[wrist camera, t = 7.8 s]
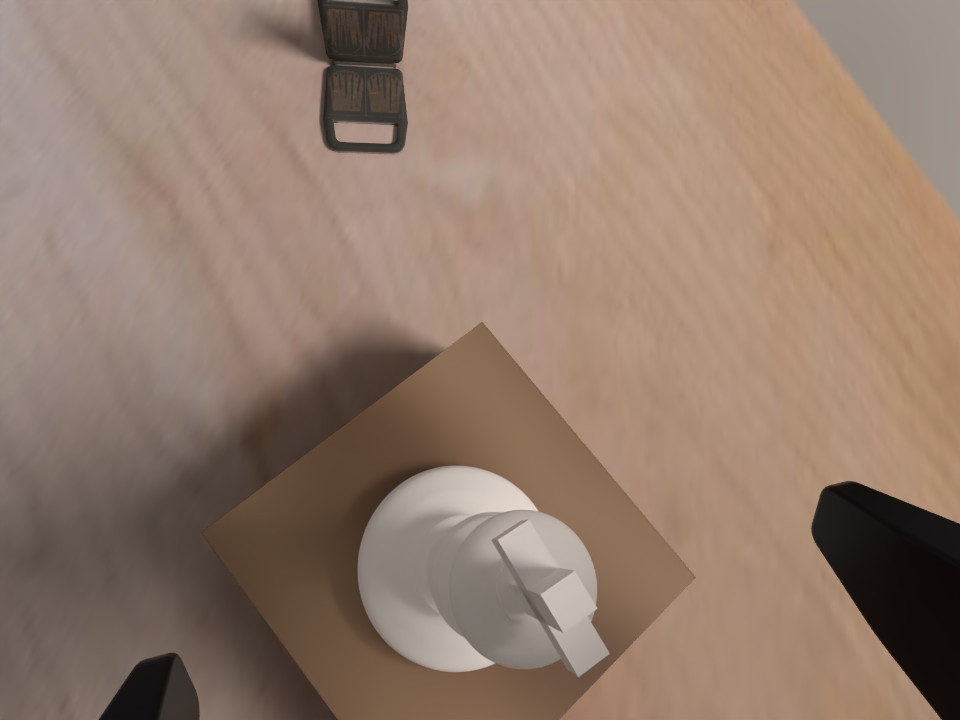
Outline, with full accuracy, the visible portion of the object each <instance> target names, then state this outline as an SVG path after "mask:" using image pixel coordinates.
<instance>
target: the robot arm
mask: <svg viewBox="0 0 960 720" xmlns="http://www.w3.org/2000/svg"><path fill="white" fill-rule="evenodd" d="M811 529H812V535H813V538H814V541H815V543H816V545H817V546H818V548H819V549H820V551H821V552H822V554H823V555H824V557H825V558H826V560H827V561H828V563H829V565H830V566H831V568H832V569H833V571H834V572H835V574H836V575H837V577H838V578H839V580H840V581H841V583H842V584H843V586H844V588H845V589H846V591H847V592H848V594H849V595H850V597H851V598H852V600H853V601H854V603H855V604H856V606H857V608H858V609H859V611H860V612H861V614H862V615H863V617H864V618H865V620H866V621H867V623H868V624H869V626H870V627H871V629H872V630H873V631H874V633H875V634H876V636H877V637H878V638H879V640H880V641H881V642H882V644H883V645H884V646H885V648H886V649H887V650H888V652H889V653H890V654H891V656H892V657H893V658H894V659H895V661H896V662H897V663H898V665H899V666H900V667H901V668H902V670H903V671H904V672H905V673H906V675H907V676H908V677H909V679H910V680H911V681H912V682H913V684H914V685H915V686H916V688H917V689H918V690H919V691H920V693H921V694H922V695H923V696H924V698H925V699H926V700H927V702H928V703H929V704H930V705H931V707H932V708H933V709H934V710H935V712H936V713H937V714H938V716H939V717H940V718H941V719H942V720H960V524H959V523H956V522H954V521H951V520H949V519H946V518H944V517H942V516H939V515H937V514H934V513H932V512H929V511H927V510H924V509H922V508H919V507H917V506H914V505H912V504H909V503H907V502H904V501H902V500H899V499H897V498H894V497H892V496H889V495H887V494H884V493H882V492H879V491H877V490H874V489H872V488H869V487H867V486H864V485H862V484H859V483H857V482H853V481H846V482H841V483H837V484H833V485H829V486H827V487H825V488H824V489H823V490H822V492H821V494H820V498H819V501H818V505H817V508H816V512H815V515H814V519H813V522H812V527H811ZM99 720H199V702H198V696H197V693H196V690H195V688H194V686H193V684H192V681H191V679H190V677H189V675H188V673H187V671H186V668H185V666H184V664H183V662H182V660H181V658H180V657H179V655H177V654H176V653H168V654H164V655H160V656H156V657H152V658H148V659H145V660H142V661H141V662H139V663H138V664H137V665H136V666H135V667H134V669H133V670H132V671H131V673H130V674H129V676H128V677H127V679H126V680H125V682H124V683H123V685H122V686H121V687H120V689H119V690H118V692H117V693H116V695H115V696H114V698H113V699H112V701H111V702H110V704H109V705H108V707H107V708H106V709H105V711H104V712H103V714H102V715H101V717H100V718H99Z"/></svg>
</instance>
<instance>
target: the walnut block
mask: <svg viewBox="0 0 960 720" xmlns="http://www.w3.org/2000/svg"><path fill="white" fill-rule="evenodd" d="M443 466H470V467H475V468H480V469H483V470H486V471H489V472H492V473H495V474H497V475H499V476H501V477H503V478H505V479H506V480H508V481H509V482H511V483H513V484H514V485H515V486H516V487H518V488H519V489H520V490H521V491H522V492H523V493H524V494H525V495H526V496H527V497H528V498H529V499H530V500H531V501H532V503H533V504H534V505H535V507H536V508H537V510H538V511H539V512H542V513H545V514H548V515H550V516H552V517H554V518H556V519H558V520H560V521H561V522H563V523H564V524H565V525H567V526H568V527H569V528H570V529H571V530H572V531H573V532H574V533H575V534H576V535H577V536H578V537H579V538H580V540H581V541H582V542H583V544H584V546H585V547H586V549H587V551H588V553H589V555H590V557H591V560H592V563H593V565H594V569H595V574H596V580H597V601H596V607H597V608H598V609H596V610H595V612H594V615H593V618H592V621H591V623H592V625H593V626H594V628H595V630H596V631H597V633H598V635H599V636H600V638H601V639H602V641H603V643H604V644H605V646H606V648H607V649H608V651H609V653H610V654H609V655H607V656H606V657H605V658H603V659H602V660H601V661H599V662H598V663H597V664H595V665H594V666H593V667H591V668H590V669H589V670H587V671H586V672H585V673H584V674H582V675H581V676H580V677H578V676H576V675H575V674H573V673H572V672H570V671H569V670H568V669H567V668H566V666H565V665H564V663H563V661H562V660H561V659H560V660H558V661H556V662H554V663H552V664H549V665H547V666H544V667H540V668H535V669H513V668H508V667H505V666H501V665H499V664H496V663H495V664H493V665H490V666H488V667H485V668H482V669H478V670H473V671H467V672H445V671H439V670H434V669H430V668H427V667H424V666H421V665H419V664H417V663H414V662H412V661H410V660H408V659H407V658H405V657H403V656H402V655H400V654H399V653H398V652H396V651H395V650H394V649H393V648H391V647H390V646H389V645H388V644H387V643H386V642H385V641H384V639H383V638H382V637H381V636H380V635H379V633H378V632H377V631H376V629H375V628H374V626H373V625H372V623H371V621H370V619H369V617H368V615H367V613H366V611H365V608H364V605H363V602H362V599H361V595H360V590H359V584H358V570H357V569H358V556H359V549H360V545H361V541H362V538H363V535H364V532H365V529H366V527H367V525H368V522H369V520H370V519H371V517H372V515H373V513H374V512H375V510H376V509H377V507H378V506H379V505H380V503H381V502H382V501H383V500H384V498H385V497H386V496H387V495H388V494H389V493H390V492H391V491H393V490H394V489H395V488H396V487H397V486H398V485H400V484H401V483H403V482H404V481H406V480H407V479H409V478H411V477H412V476H414V475H417V474H419V473H421V472H424V471H426V470H429V469H433V468H437V467H443ZM201 533H202V535H203V536H204V537H205V539H206V540H207V542H208V543H209V544H210V546H211V547H212V548H213V550H214V551H215V552H216V554H217V555H218V557H219V558H220V559H221V561H222V562H223V563H224V565H225V566H226V568H227V569H228V570H229V572H230V573H231V574H232V576H233V577H234V578H235V580H236V581H237V583H238V584H239V585H240V587H241V588H242V589H243V591H244V592H245V594H246V595H247V596H248V598H249V599H250V600H251V602H252V603H253V604H254V606H255V607H256V609H257V610H258V611H259V613H260V614H261V615H262V617H263V618H264V619H265V621H266V622H267V624H268V625H269V626H270V628H271V629H272V630H273V632H274V633H275V635H276V636H277V637H278V639H279V640H280V641H281V643H282V644H283V645H284V647H285V648H286V650H287V651H288V652H289V654H290V655H291V656H292V658H293V659H294V660H295V662H296V663H297V665H298V666H299V667H300V669H301V670H302V671H303V673H304V674H305V676H306V677H307V678H308V680H309V681H310V682H311V684H312V685H313V686H314V688H315V689H316V691H317V692H318V693H319V695H320V696H321V697H322V699H323V700H324V702H325V703H326V704H327V706H328V707H329V708H330V710H331V711H332V712H333V714H334V715H335V717H336V718H337V719H338V720H559V719H560V718H561V717H562V716H563V715H564V714H565V713H566V712H567V711H568V710H569V709H570V708H571V707H572V706H573V704H574V703H575V702H576V701H577V700H578V699H579V698H580V697H581V696H582V695H583V694H584V693H585V692H586V691H587V690H588V689H589V688H590V687H591V686H592V685H593V684H594V683H595V682H596V681H597V680H598V679H599V677H600V676H601V675H602V674H603V673H604V672H605V671H606V670H607V669H608V668H609V667H610V666H611V665H612V664H613V663H614V662H615V661H616V660H617V659H618V658H619V657H620V656H621V655H622V654H623V653H624V652H625V650H626V649H627V648H628V647H629V646H630V645H631V644H632V643H633V642H634V641H635V640H636V639H637V638H638V637H639V636H640V635H641V634H642V633H643V632H644V631H645V630H646V629H647V628H648V627H649V626H650V625H651V623H652V622H653V621H654V620H655V619H656V618H657V617H658V616H659V615H660V614H661V613H662V612H663V611H664V610H665V609H666V608H667V607H668V606H669V605H670V604H671V603H672V602H673V601H674V600H675V599H676V598H677V596H678V595H679V594H680V593H681V592H682V591H683V590H684V589H685V588H686V587H687V586H688V585H689V584H690V583H691V582H692V581H693V580H694V579H695V578H696V577H695V576H694V574H693V573H692V572H691V571H690V570H689V568H688V567H687V566H686V565H685V564H684V562H683V561H682V560H681V559H680V558H679V556H678V555H677V554H676V553H675V552H674V551H673V549H672V548H671V547H670V546H669V545H668V543H667V542H666V541H665V540H664V539H663V537H662V536H661V535H660V534H659V533H658V531H657V530H656V529H655V528H654V527H653V525H652V524H651V523H650V522H649V521H648V519H647V518H646V517H645V516H644V515H643V513H642V512H641V511H640V510H639V509H638V508H637V506H636V505H635V504H634V503H633V502H632V500H631V499H630V498H629V497H628V496H627V494H626V493H625V492H624V491H623V490H622V488H621V487H620V486H619V485H618V484H617V482H616V481H615V480H614V479H613V478H612V476H611V475H610V474H609V473H608V472H607V470H606V469H605V468H604V467H603V466H602V464H601V463H600V462H599V461H598V460H597V459H596V457H595V456H594V455H593V454H592V453H591V451H590V450H589V449H588V448H587V447H586V445H585V444H584V443H583V442H582V441H581V439H580V438H579V437H578V436H577V435H576V433H575V432H574V431H573V430H572V429H571V427H570V426H569V425H568V424H567V423H566V421H565V420H564V419H563V418H562V417H561V416H560V414H559V413H558V412H557V411H556V410H555V408H554V407H553V406H552V405H551V404H550V402H549V401H548V400H547V399H546V398H545V396H544V395H543V394H542V393H541V392H540V390H539V389H538V388H537V387H536V386H535V384H534V383H533V382H532V381H531V380H530V378H529V377H528V376H527V375H526V374H525V372H524V371H523V370H522V369H521V368H520V367H519V365H518V364H517V363H516V362H515V361H514V359H513V358H512V357H511V356H510V355H509V353H508V352H507V351H506V350H505V349H504V347H503V346H502V345H501V344H500V343H499V341H498V340H497V339H496V338H495V337H494V335H493V334H492V333H491V332H490V331H489V329H488V328H487V327H486V326H485V325H484V324H483V322H481V323H480V324H479V325H477V326H476V327H475V328H473V329H472V330H471V331H469V332H468V333H467V334H465V335H464V336H463V337H461V338H460V339H459V340H457V341H456V342H455V343H453V344H452V345H451V346H449V347H448V348H447V349H445V350H444V351H443V352H441V353H440V354H439V355H437V356H436V357H435V358H433V359H432V360H431V361H429V362H428V363H427V364H425V365H424V366H423V367H421V368H420V369H419V370H417V371H416V372H415V373H413V374H412V375H411V376H409V377H408V378H407V379H405V380H404V381H403V382H401V383H400V384H399V385H397V386H396V387H395V388H393V389H392V390H391V391H389V392H388V393H387V394H385V395H384V396H383V397H381V398H380V399H379V400H377V401H376V402H375V403H373V404H372V405H371V406H369V407H368V408H367V409H365V410H364V411H363V412H361V413H360V414H359V415H357V416H356V417H355V418H353V419H352V420H351V421H349V422H348V423H347V424H345V425H344V426H343V427H341V428H340V429H339V430H337V431H336V432H335V433H333V434H332V435H331V436H329V437H328V438H327V439H325V440H324V441H323V442H321V443H320V444H319V445H317V446H316V447H315V448H313V449H312V450H311V451H309V452H308V453H307V454H305V455H304V456H303V457H301V458H300V459H299V460H297V461H296V462H295V463H293V464H292V465H291V466H289V467H288V468H287V469H285V470H284V471H283V472H281V473H280V474H279V475H277V476H276V477H275V478H273V479H272V480H271V481H269V482H268V483H267V484H265V485H264V486H263V487H261V488H260V489H259V490H257V491H256V492H255V493H253V494H252V495H251V496H249V497H248V498H247V499H245V500H244V501H243V502H241V503H240V504H239V505H237V506H236V507H235V508H233V509H232V510H231V511H229V512H228V513H227V514H225V515H224V516H223V517H221V518H220V519H219V520H217V521H216V522H215V523H213V524H212V525H211V526H209V527H208V528H207V529H205V530H204V531H203V532H201Z"/></svg>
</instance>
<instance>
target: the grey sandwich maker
mask: <svg viewBox="0 0 960 720" xmlns="http://www.w3.org/2000/svg"><path fill="white" fill-rule="evenodd" d="M318 6H319V12H320V18H321V24H322V30H323V36H324V43H325V49H326V54H327V56H328V57H329V58H330V59H333V60H334V61H333V63H334V64H336V65H332V66H330V67H328V69H327V79H326V92H325V106H324V126H325V132H326V137H327V143H328V145H329V147H330V148H331V149H332V150H333V151H335V152H339V153H371V154H398V153H400V152H401V151H402V150H403V148H404V146H405V140H406V133H407V125H408V121H407V112H406V103H405V94H404V85H403V76H402V72H401V71H400V70H399V69H394V68H395V67H396V64H394V63H399V62H400V61H401V60H402V57H403V48H404V39H405V30H406V21H407V12H408V0H318ZM334 123H355V124H380V125H398V132H397V140H396V142H395V143H393V144H375V143H348V142H339V141H337V139H336V137H335V130H334Z"/></svg>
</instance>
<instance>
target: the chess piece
mask: <svg viewBox="0 0 960 720" xmlns="http://www.w3.org/2000/svg"><path fill="white" fill-rule="evenodd" d="M357 570H358V584H359V590H360V595H361V599H362V602H363V605H364V608H365V611H366V613H367V615H368V617H369V619H370V621H371V623H372V625H373V626H374V628H375V629H376V631H377V632H378V633H379V635H380V636H381V637H382V638H383V639H384V641H385V642H386V643H387V644H388V645H389V646H390V647H391V648H393V649H394V650H395V651H396V652H398V653H399V654H400V655H402V656H403V657H405V658H407V659H408V660H410V661H412V662H414V663H417V664H419V665H421V666H424V667H427V668H430V669H434V670H439V671H445V672H467V671H473V670H478V669H482V668H485V667H488V666H490V665H493V664H495V663H496V664H499V665H501V666H505V667H508V668H513V669H535V668H540V667H544V666H547V665H549V664H552V663H554V662H556V661H558V660H560V659H561V660H562V661H563V663H564V665H565V666H566V668H567V669H568V670H569V671H570V672H572V673H573V674H575V675H576V676H578V677H580V676H581V675H582V674H584V673H585V672H586V671H587V670H589V669H590V668H591V667H593V666H594V665H595V664H597V663H598V662H599V661H601V660H602V659H603V658H605V657H606V656H607V655H609V654H610V653H609V651H608V649H607V648H606V646H605V644H604V643H603V641H602V639H601V638H600V636H599V635H598V633H597V631H596V630H595V628H594V626H593V625H592V623H591V621H592V618H593V615H594V612H595V610H596V609H598V608H597V607H596V601H597V580H596V574H595V569H594V565H593V563H592V560H591V557H590V555H589V553H588V551H587V549H586V547H585V546H584V544H583V542H582V541H581V540H580V538H579V537H578V536H577V535H576V534H575V533H574V532H573V531H572V530H571V529H570V528H569V527H568V526H567V525H565V524H564V523H563V522H561V521H560V520H558V519H556V518H554V517H552V516H550V515H548V514H545V513H542V512H539V511H538V510H537V508H536V507H535V505H534V504H533V503H532V501H531V500H530V499H529V498H528V497H527V496H526V495H525V494H524V493H523V492H522V491H521V490H520V489H519V488H518V487H516V486H515V485H514V484H513V483H511V482H509V481H508V480H506V479H505V478H503V477H501V476H499V475H497V474H495V473H492V472H489V471H486V470H483V469H480V468H475V467H470V466H443V467H437V468H433V469H429V470H426V471H424V472H421V473H419V474H417V475H414V476H412V477H411V478H409V479H407V480H406V481H404V482H403V483H401V484H400V485H398V486H397V487H396V488H395V489H394V490H393V491H391V492H390V493H389V494H388V495H387V496H386V497H385V498H384V500H383V501H382V502H381V503H380V505H379V506H378V507H377V509H376V510H375V512H374V513H373V515H372V517H371V519H370V520H369V522H368V525H367V527H366V529H365V532H364V535H363V538H362V541H361V545H360V549H359V556H358V569H357Z"/></svg>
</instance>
